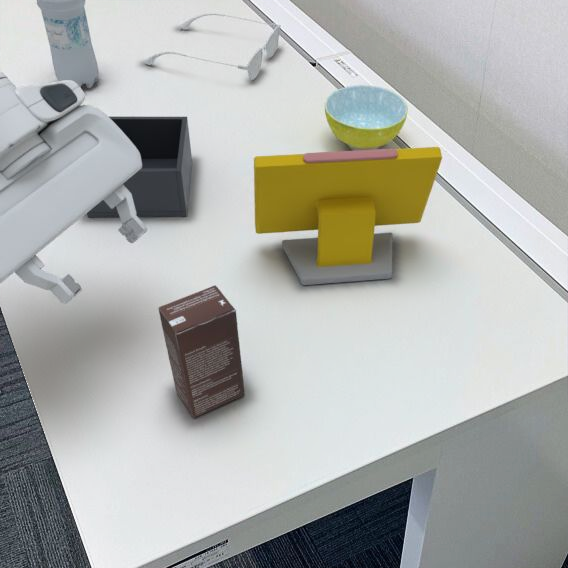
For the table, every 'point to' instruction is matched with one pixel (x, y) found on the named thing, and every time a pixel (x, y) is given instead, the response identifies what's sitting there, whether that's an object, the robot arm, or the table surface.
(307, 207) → the toy computer monitor
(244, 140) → the table surface
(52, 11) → the bottle
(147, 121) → the bin
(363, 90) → the bowl
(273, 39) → the eyeglasses
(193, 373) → the box
